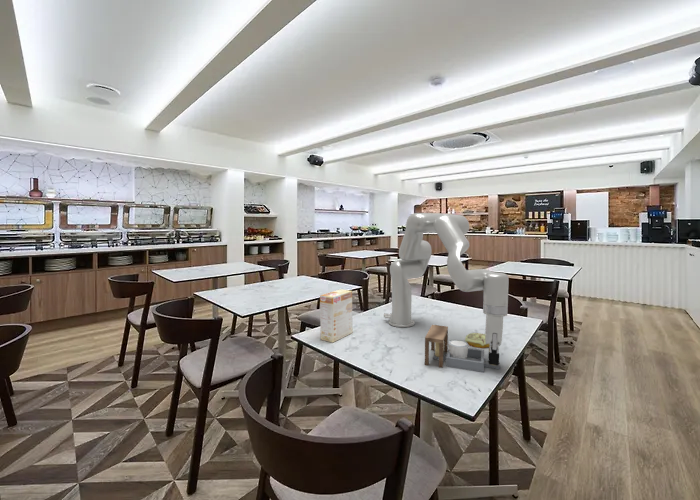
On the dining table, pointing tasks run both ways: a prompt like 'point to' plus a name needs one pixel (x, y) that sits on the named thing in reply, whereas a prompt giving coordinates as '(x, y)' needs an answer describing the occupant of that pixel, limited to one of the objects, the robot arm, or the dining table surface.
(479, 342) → the decorated donut
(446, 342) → the tunnel
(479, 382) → the dining table surface
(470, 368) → the slider
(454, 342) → the white cylinder
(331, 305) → the coffeecake box
